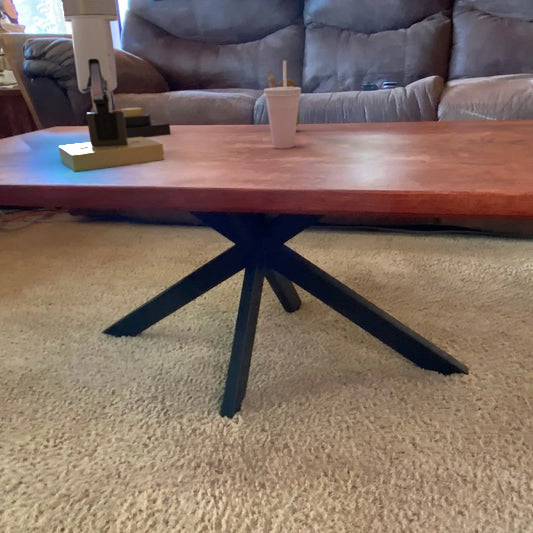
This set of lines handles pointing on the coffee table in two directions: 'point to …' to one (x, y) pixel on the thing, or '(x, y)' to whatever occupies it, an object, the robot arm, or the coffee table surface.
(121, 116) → the lock turn
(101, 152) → the plate
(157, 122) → the block
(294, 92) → the smoothie
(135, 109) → the bell button
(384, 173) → the coffee table surface
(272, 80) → the snail figurine
